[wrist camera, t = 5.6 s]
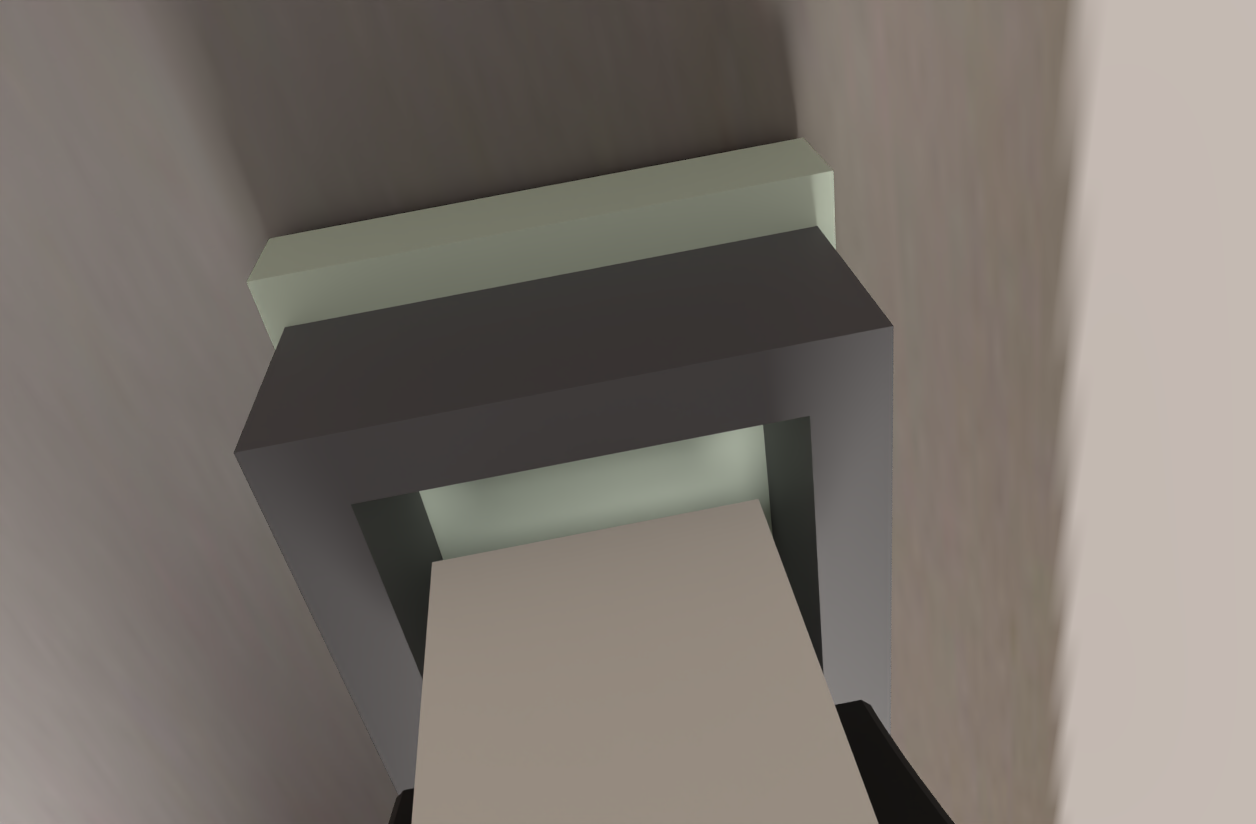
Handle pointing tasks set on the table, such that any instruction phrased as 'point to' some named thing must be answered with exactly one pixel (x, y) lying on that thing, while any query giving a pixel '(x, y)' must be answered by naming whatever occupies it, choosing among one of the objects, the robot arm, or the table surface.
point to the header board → (574, 401)
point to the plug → (629, 684)
